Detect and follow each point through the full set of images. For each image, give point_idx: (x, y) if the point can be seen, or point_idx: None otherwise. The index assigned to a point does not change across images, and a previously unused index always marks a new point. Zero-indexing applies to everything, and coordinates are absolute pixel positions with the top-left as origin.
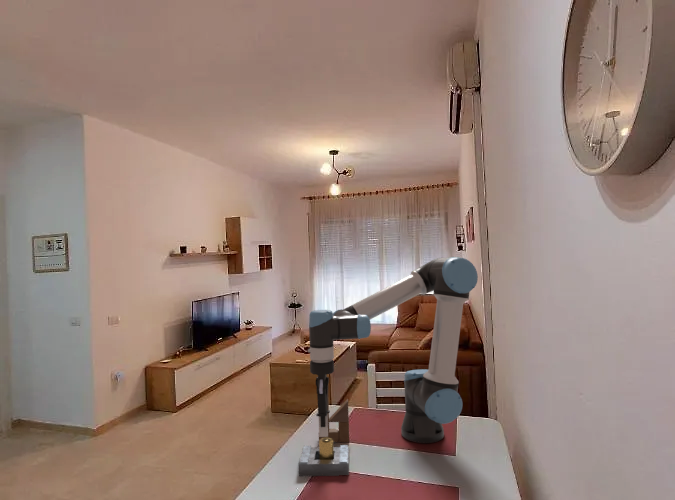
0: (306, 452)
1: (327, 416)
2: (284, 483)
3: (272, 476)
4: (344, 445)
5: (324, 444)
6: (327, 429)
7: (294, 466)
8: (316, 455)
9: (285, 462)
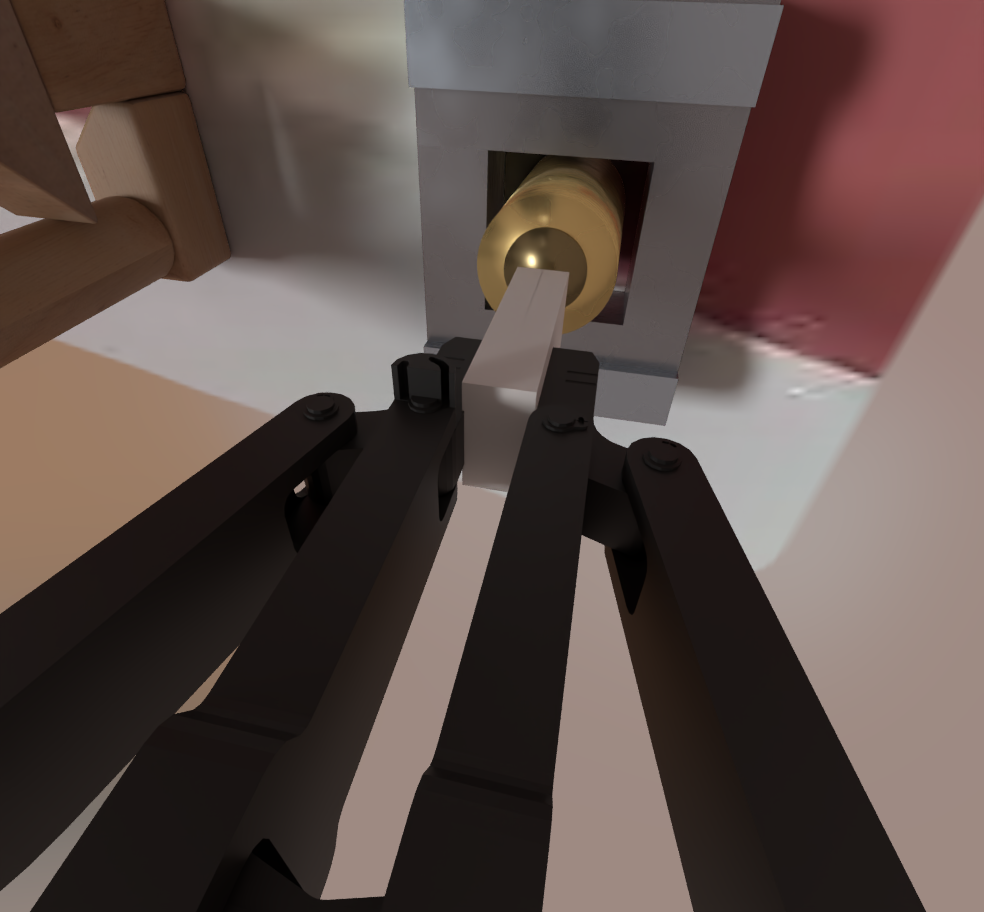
0: None
1: (503, 373)
2: (719, 450)
3: None
4: (414, 38)
5: (613, 287)
6: (561, 305)
7: None
8: None
9: None
